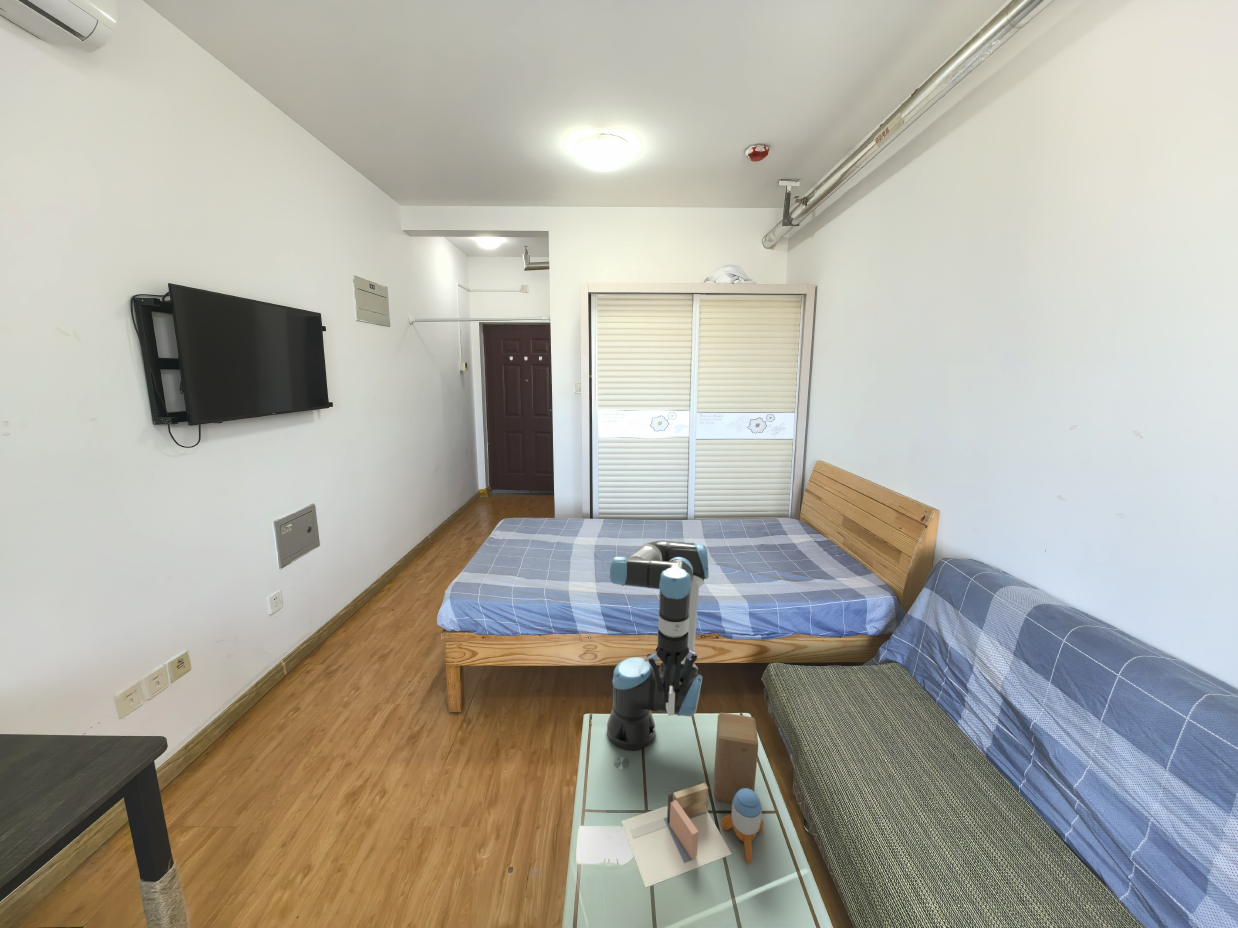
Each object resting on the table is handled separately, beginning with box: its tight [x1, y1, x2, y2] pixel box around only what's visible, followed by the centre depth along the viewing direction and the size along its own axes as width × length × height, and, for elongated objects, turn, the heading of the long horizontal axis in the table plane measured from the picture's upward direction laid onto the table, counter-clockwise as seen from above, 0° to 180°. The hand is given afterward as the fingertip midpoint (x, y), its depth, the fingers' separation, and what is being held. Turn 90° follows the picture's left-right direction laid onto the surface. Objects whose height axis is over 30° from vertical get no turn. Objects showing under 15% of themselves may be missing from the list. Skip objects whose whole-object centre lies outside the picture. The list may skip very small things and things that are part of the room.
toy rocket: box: [720, 788, 764, 865], centre depth 112 cm, size 10×11×15 cm
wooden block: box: [713, 712, 759, 805], centre depth 124 cm, size 10×10×20 cm
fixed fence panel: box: [667, 782, 709, 823], centre depth 117 cm, size 11×2×9 cm, turn 109°
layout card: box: [620, 805, 733, 888], centre depth 112 cm, size 16×22×1 cm
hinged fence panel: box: [670, 800, 698, 859], centre depth 110 cm, size 9×2×7 cm, turn 28°
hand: (669, 711), depth 121 cm, fingers closed
